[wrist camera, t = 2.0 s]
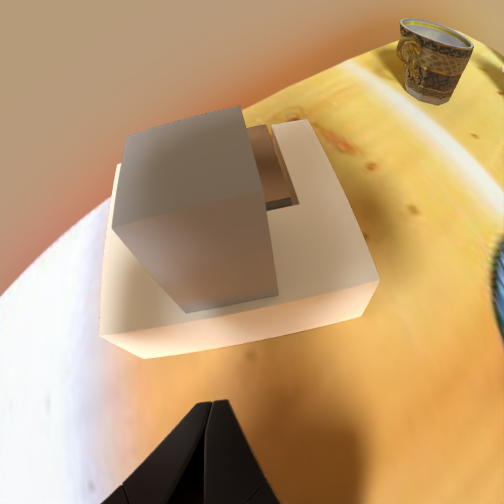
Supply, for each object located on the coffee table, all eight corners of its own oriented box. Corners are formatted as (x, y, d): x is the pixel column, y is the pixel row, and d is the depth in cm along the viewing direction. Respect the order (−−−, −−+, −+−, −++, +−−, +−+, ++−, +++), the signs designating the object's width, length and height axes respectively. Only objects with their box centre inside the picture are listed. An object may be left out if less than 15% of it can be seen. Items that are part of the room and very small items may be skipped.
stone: (279, 295, 16) (263, 191, 9) (186, 313, 16) (111, 227, 9) (261, 219, 19) (240, 105, 12) (180, 237, 19) (126, 136, 12)
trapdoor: (293, 212, 20) (293, 204, 19) (154, 243, 20) (149, 236, 19) (266, 132, 24) (265, 124, 23) (157, 158, 24) (154, 151, 24)
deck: (360, 316, 21) (380, 279, 16) (143, 358, 21) (99, 335, 16) (307, 170, 28) (307, 118, 23) (143, 207, 29) (117, 164, 24)
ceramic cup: (419, 71, 37) (427, 17, 29) (469, 105, 32) (485, 47, 24) (363, 86, 36) (367, 20, 27) (419, 125, 30) (435, 52, 22)
